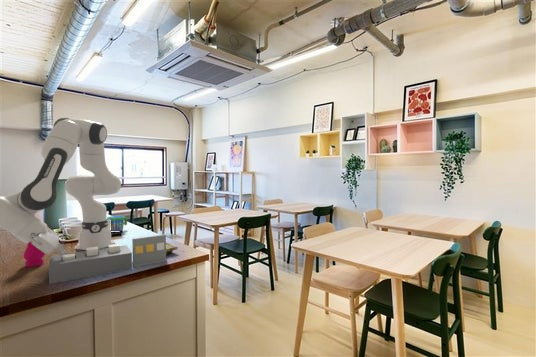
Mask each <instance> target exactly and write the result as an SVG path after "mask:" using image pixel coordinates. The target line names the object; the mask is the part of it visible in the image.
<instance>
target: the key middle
mask: <svg viewBox="0 0 536 357" xmlns="http://www.w3.org/2000/svg"><path fill="white" fill-rule="evenodd" d="M85 251H86V254H87V256H94V255H98V247H89V248H86V250H85Z"/></svg>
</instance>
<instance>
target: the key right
mask: <svg viewBox="0 0 536 357" xmlns="http://www.w3.org/2000/svg"><path fill="white" fill-rule="evenodd" d="M120 246H121V245H120V244H119V243H115V244H112V245H108V247H107V248H108V253H114V252H120Z"/></svg>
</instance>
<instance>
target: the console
mask: <svg viewBox="0 0 536 357" xmlns="http://www.w3.org/2000/svg"><path fill="white" fill-rule="evenodd" d="M68 254H75V258H74V259H67V260H63V255H62V254H61V253H59V254H55V255H54V254H53V255H51V257H50V259H49V263H48V285H53V284H58V283H62V282H68V281H74V280H80V279H84V278H85V279H86V278H90V277H95V276H101V275H107V274H112V273H118V272H123V271H128V270H133V265H132V262H133V251H132V250H130V247H129V246H128V245H127V244H126V245H120V252H114V253H108V247H105V248H101V249H98V255H94V256H87V254H86V250H83V251H82V250H81V251H76V252H68V253H67V252H66V253H65V254H64V255H68Z"/></svg>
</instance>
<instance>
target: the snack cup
mask: <svg viewBox="0 0 536 357" xmlns="http://www.w3.org/2000/svg"><path fill="white" fill-rule="evenodd" d="M107 219H110V220H111V231H122V232H123V230H124V225H125V226H127V225H128V220H127V218H126V216H124V215H112V216H108V217H107Z"/></svg>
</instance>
